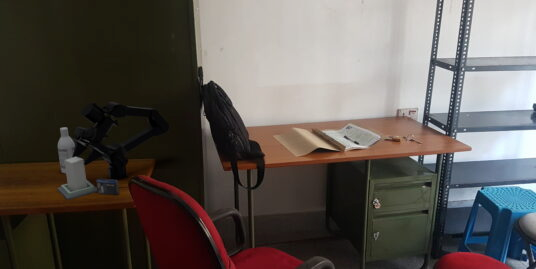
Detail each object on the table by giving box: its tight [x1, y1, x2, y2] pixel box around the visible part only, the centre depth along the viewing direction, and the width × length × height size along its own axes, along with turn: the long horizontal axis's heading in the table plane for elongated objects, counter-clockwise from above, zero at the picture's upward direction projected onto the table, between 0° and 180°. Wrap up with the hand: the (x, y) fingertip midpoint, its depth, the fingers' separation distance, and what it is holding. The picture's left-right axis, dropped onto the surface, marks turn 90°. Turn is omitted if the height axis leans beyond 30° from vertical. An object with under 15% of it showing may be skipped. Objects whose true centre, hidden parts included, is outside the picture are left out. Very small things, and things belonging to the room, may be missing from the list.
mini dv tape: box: [96, 178, 120, 196], centre depth 170 cm, size 8×2×6 cm, turn 80°
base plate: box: [57, 179, 98, 201], centre depth 173 cm, size 12×12×2 cm
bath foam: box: [57, 126, 75, 174], centre depth 189 cm, size 7×7×20 cm
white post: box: [64, 156, 87, 191], centre depth 171 cm, size 5×5×12 cm
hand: (78, 161), depth 171 cm, fingers open, 9 cm apart
